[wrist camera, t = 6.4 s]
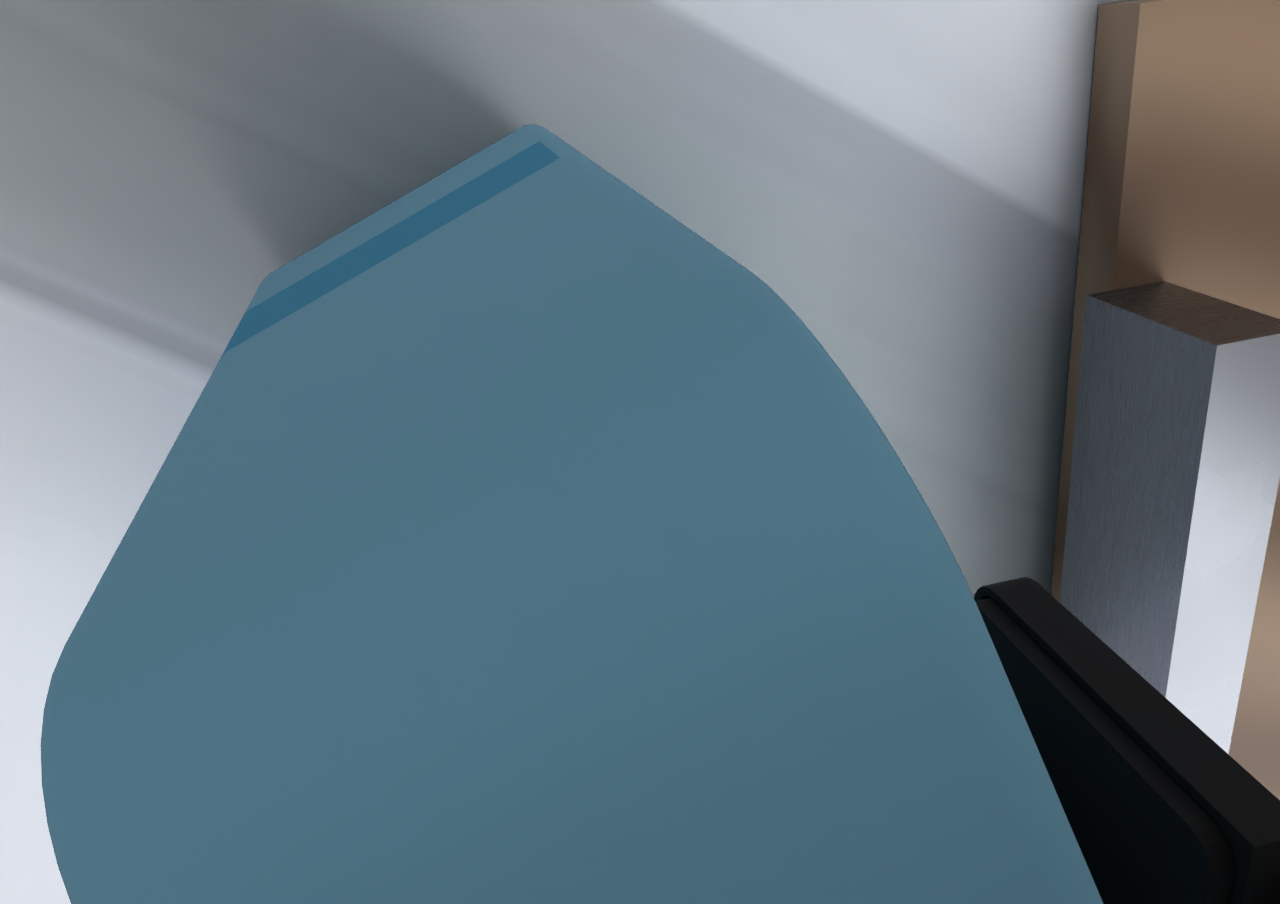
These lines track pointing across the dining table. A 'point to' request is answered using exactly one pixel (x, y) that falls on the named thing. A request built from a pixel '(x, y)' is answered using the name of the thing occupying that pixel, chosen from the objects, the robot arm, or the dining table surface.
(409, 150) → the dining table surface
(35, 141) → the dining table surface
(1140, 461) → the grey rectangular bar
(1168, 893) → the robot arm
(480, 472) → the data package
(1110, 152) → the shelf
